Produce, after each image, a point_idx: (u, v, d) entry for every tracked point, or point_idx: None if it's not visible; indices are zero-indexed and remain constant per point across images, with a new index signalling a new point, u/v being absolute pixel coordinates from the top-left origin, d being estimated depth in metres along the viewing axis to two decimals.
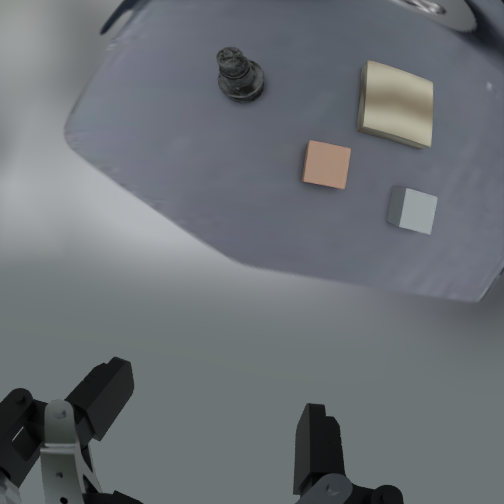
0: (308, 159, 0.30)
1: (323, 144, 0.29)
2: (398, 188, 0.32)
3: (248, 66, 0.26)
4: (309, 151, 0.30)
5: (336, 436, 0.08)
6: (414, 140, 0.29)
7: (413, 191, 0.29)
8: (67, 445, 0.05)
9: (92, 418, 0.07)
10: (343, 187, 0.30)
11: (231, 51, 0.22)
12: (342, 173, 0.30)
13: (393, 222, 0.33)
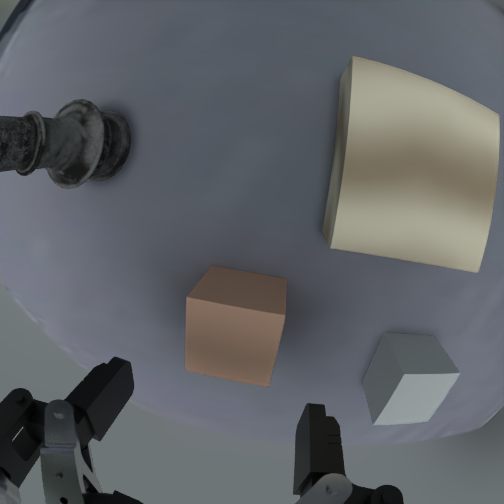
0: (188, 335, 0.14)
1: (218, 307, 0.13)
2: (391, 352, 0.16)
3: (40, 138, 0.09)
4: (188, 320, 0.14)
5: (336, 436, 0.08)
6: (449, 265, 0.12)
7: (417, 376, 0.13)
8: (67, 445, 0.05)
9: (92, 418, 0.07)
10: (266, 384, 0.14)
11: None
12: (263, 363, 0.14)
13: (369, 402, 0.17)
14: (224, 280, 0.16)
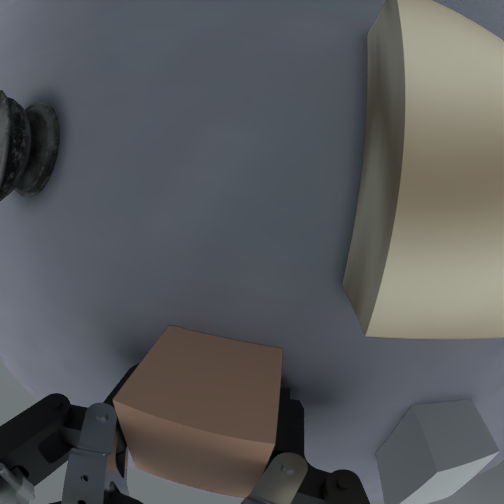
0: (129, 440, 0.07)
1: (162, 422, 0.07)
2: (421, 436, 0.09)
3: None
4: (124, 426, 0.07)
5: (299, 419, 0.09)
6: None
7: (451, 469, 0.06)
8: (102, 450, 0.06)
9: None
10: None
11: None
12: (241, 482, 0.07)
13: (383, 484, 0.10)
14: (181, 359, 0.09)
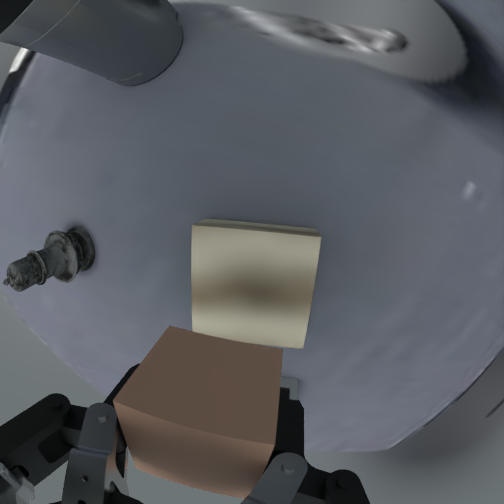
0: (129, 441, 0.07)
1: (162, 423, 0.07)
2: None
3: (43, 270, 0.20)
4: (124, 427, 0.07)
5: (299, 419, 0.09)
6: (273, 344, 0.23)
7: None
8: (102, 450, 0.06)
9: None
10: None
11: (11, 277, 0.17)
12: (241, 483, 0.07)
13: None
14: (181, 360, 0.09)
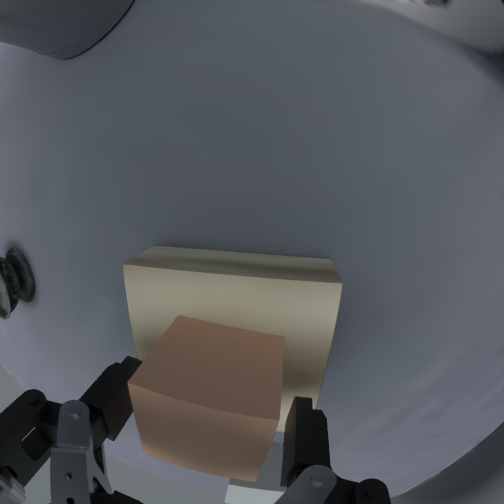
0: (140, 424, 0.08)
1: (174, 402, 0.07)
2: None
3: None
4: (136, 409, 0.08)
5: (323, 429, 0.09)
6: None
7: (243, 487, 0.15)
8: (80, 446, 0.05)
9: (107, 418, 0.08)
10: (251, 479, 0.09)
11: None
12: (246, 463, 0.08)
13: None
14: (191, 346, 0.10)
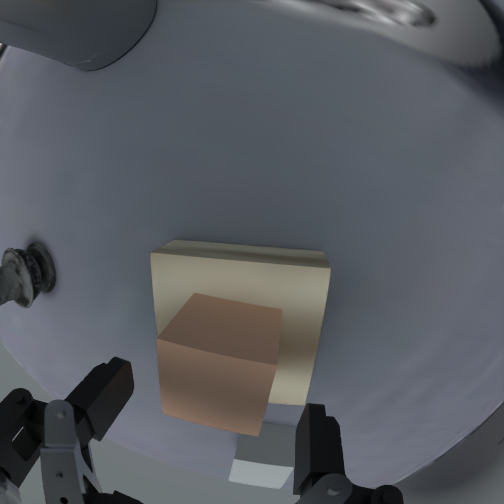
0: (162, 379, 0.11)
1: (194, 352, 0.10)
2: (239, 437, 0.20)
3: None
4: (161, 364, 0.11)
5: (336, 436, 0.08)
6: None
7: (247, 462, 0.17)
8: (67, 445, 0.05)
9: (92, 418, 0.07)
10: (254, 433, 0.11)
11: None
12: (250, 414, 0.11)
13: None
14: (206, 314, 0.13)
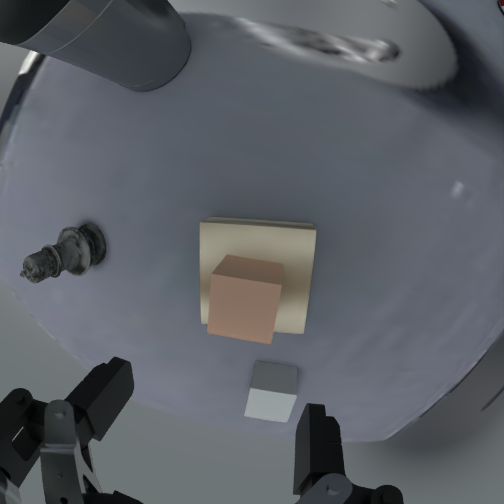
0: (211, 303, 0.20)
1: (234, 280, 0.19)
2: (253, 373, 0.29)
3: (58, 263, 0.23)
4: (212, 291, 0.20)
5: (336, 436, 0.08)
6: (276, 330, 0.26)
7: (260, 390, 0.26)
8: (67, 445, 0.05)
9: (92, 418, 0.07)
10: (268, 341, 0.20)
11: (27, 269, 0.19)
12: (266, 324, 0.20)
13: (247, 402, 0.30)
14: (237, 264, 0.22)
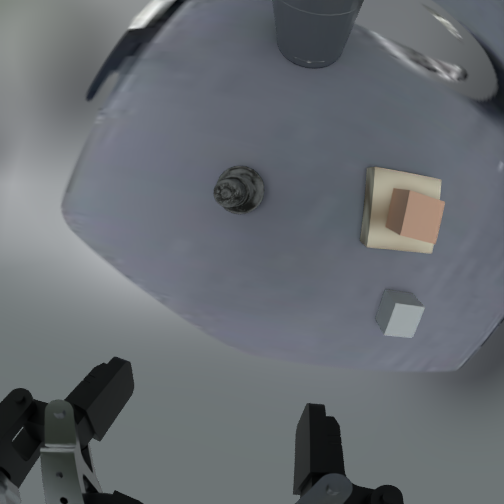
0: (407, 211, 0.26)
1: (422, 196, 0.25)
2: (389, 296, 0.35)
3: (248, 192, 0.28)
4: (408, 203, 0.25)
5: (336, 436, 0.08)
6: (416, 250, 0.31)
7: (402, 305, 0.32)
8: (67, 445, 0.05)
9: (92, 418, 0.07)
10: (434, 242, 0.26)
11: (229, 190, 0.25)
12: (435, 228, 0.26)
13: (380, 326, 0.36)
14: None
